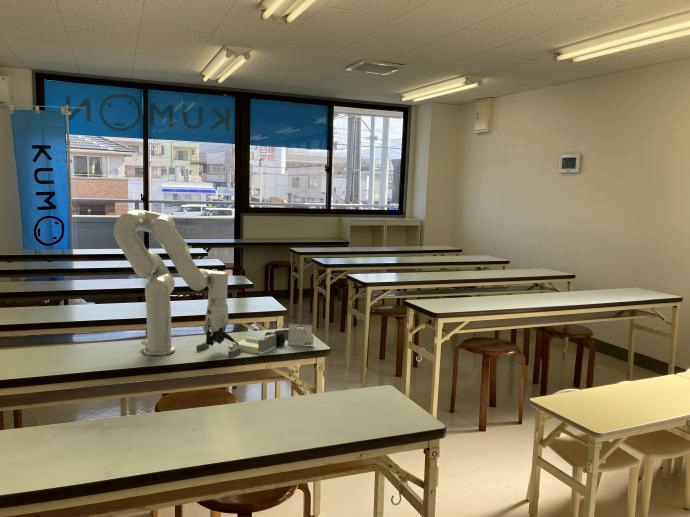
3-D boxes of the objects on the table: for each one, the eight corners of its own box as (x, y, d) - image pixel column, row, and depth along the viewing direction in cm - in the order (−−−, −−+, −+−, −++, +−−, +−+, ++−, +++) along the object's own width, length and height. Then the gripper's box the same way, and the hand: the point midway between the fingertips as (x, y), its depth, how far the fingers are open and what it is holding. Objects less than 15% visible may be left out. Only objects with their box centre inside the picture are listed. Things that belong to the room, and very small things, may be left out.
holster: (196, 350, 243) (196, 345, 242) (206, 346, 249) (206, 341, 249) (230, 357, 236) (230, 351, 235) (240, 353, 242) (240, 347, 241)
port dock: (228, 348, 248) (228, 333, 247) (243, 341, 258) (243, 327, 257) (262, 354, 241) (262, 339, 240) (276, 347, 251) (276, 333, 250)
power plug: (240, 344, 242) (217, 328, 237) (229, 359, 241) (206, 343, 237) (238, 340, 247) (216, 325, 242) (227, 354, 246) (204, 339, 242)
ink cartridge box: (289, 343, 258) (289, 322, 257) (313, 345, 256) (314, 324, 255) (287, 345, 255) (288, 323, 254) (312, 347, 253) (312, 325, 252)
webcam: (285, 345, 256) (286, 332, 255) (278, 348, 250) (278, 335, 250) (269, 341, 260) (269, 329, 259) (261, 344, 255) (261, 332, 254)
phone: (288, 329, 278) (303, 336, 266) (288, 331, 279) (303, 338, 266) (273, 331, 274) (288, 337, 262) (273, 333, 274) (288, 340, 262)
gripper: (211, 306, 230) (209, 349, 232) (237, 299, 245) (234, 339, 248) (196, 302, 233) (194, 345, 235) (222, 296, 248) (220, 336, 251)
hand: (214, 342), depth 241 cm, fingers closed on power plug, 6 cm apart
